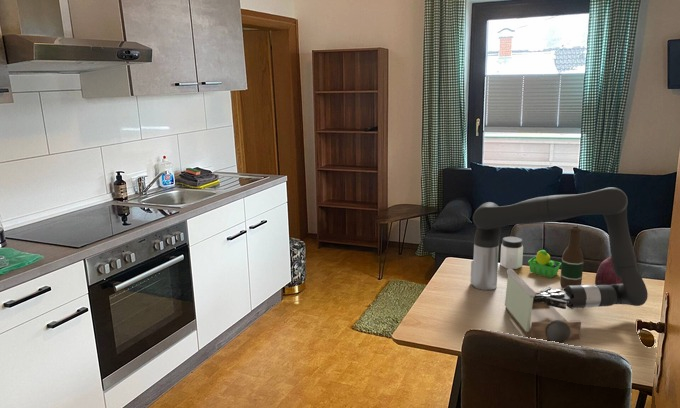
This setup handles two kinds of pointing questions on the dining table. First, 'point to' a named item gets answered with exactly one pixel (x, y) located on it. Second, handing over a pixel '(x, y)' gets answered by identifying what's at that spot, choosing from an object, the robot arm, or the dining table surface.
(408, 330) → the dining table surface
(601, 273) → the vegetable
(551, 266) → the fruit basket
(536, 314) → the cart bed
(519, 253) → the jar
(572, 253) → the beer bottle
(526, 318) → the tailgate
